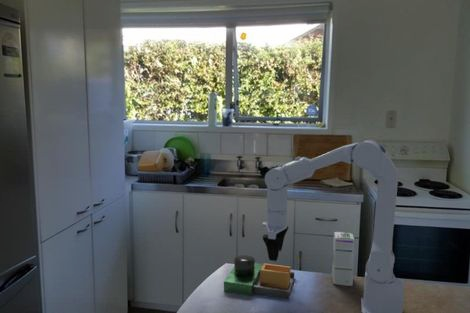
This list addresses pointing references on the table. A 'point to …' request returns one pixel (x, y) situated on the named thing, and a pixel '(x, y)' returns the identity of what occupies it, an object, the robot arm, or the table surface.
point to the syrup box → (343, 258)
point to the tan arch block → (275, 275)
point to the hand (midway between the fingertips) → (275, 255)
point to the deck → (252, 279)
